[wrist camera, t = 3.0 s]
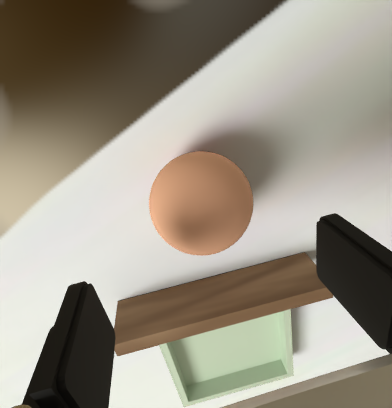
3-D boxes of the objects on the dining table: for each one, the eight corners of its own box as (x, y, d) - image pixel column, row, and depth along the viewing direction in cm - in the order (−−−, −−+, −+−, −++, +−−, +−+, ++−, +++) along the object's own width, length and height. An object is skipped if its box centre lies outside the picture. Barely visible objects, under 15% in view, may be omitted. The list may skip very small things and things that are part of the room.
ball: (137, 152, 17) (132, 189, 12) (229, 131, 17) (265, 157, 12) (161, 231, 20) (166, 290, 14) (240, 211, 20) (273, 261, 15)
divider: (117, 301, 22) (111, 345, 18) (304, 252, 23) (333, 285, 19) (122, 311, 22) (117, 356, 19) (304, 263, 23) (333, 297, 20)
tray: (153, 310, 23) (153, 331, 21) (278, 277, 24) (290, 294, 22) (181, 384, 28) (183, 407, 26) (284, 355, 29) (293, 375, 27)
